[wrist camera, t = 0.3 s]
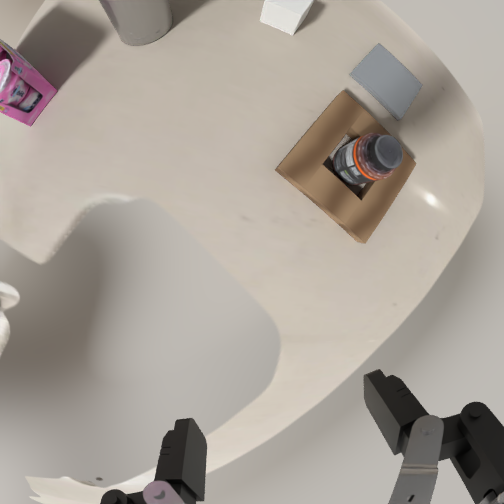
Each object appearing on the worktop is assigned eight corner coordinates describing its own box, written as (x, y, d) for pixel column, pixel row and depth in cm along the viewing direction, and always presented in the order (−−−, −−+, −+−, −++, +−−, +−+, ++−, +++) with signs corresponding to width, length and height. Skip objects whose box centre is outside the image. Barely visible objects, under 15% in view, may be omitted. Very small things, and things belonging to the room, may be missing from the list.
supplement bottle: (370, 156, 38) (414, 142, 27) (360, 191, 39) (404, 186, 27) (337, 140, 37) (374, 117, 26) (325, 175, 38) (363, 163, 27)
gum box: (62, 93, 31) (19, 61, 18) (34, 131, 32) (-16, 112, 18) (17, 50, 28) (-16, 25, 14) (-6, 80, 28) (-43, 61, 14)
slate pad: (349, 74, 36) (351, 72, 35) (376, 45, 35) (378, 43, 34) (397, 120, 38) (401, 118, 37) (419, 86, 37) (422, 85, 36)
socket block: (274, 170, 37) (278, 167, 34) (336, 96, 36) (342, 90, 34) (357, 241, 39) (365, 243, 37) (407, 165, 39) (416, 163, 36)
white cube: (292, 35, 34) (301, 15, 28) (259, 21, 33) (264, 0, 27) (305, 17, 34) (315, -3, 28) (274, 3, 33) (280, -18, 27)
